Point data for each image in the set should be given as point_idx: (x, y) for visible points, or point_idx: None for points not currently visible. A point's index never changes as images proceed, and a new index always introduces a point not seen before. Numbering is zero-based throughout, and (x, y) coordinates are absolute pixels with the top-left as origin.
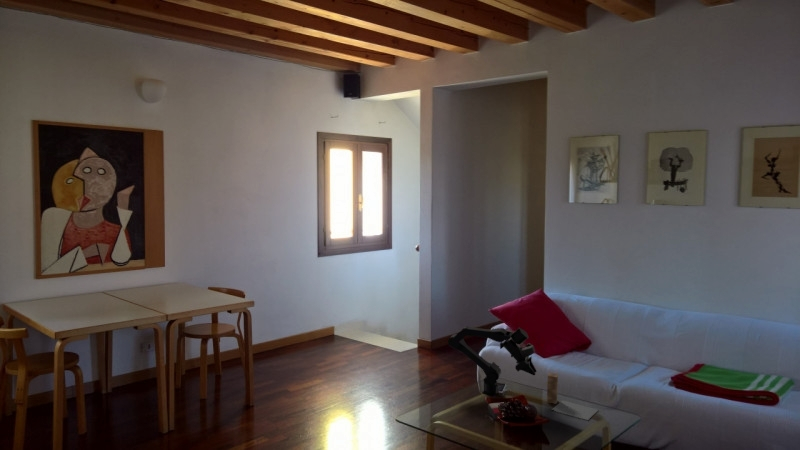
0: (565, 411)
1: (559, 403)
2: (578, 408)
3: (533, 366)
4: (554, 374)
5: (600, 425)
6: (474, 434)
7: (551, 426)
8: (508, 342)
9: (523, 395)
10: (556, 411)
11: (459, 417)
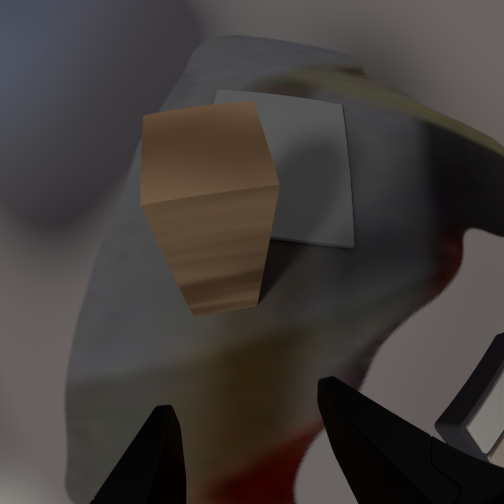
0: (326, 181)
1: None
2: None
3: (151, 488)
4: (176, 135)
5: (345, 80)
6: None
7: (481, 208)
8: None
9: (216, 487)
10: (352, 219)
11: None
